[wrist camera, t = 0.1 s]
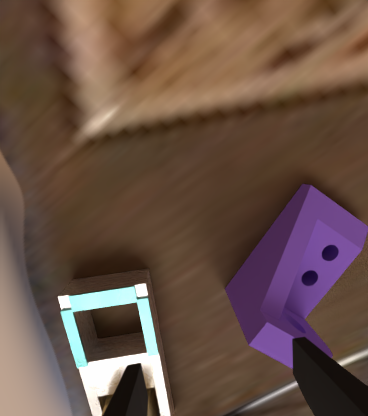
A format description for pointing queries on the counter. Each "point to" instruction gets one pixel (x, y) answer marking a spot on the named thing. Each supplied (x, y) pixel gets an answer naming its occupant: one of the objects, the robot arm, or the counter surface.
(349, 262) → the bracket
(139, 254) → the counter surface
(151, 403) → the beige hollow block
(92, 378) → the white compartment tray
